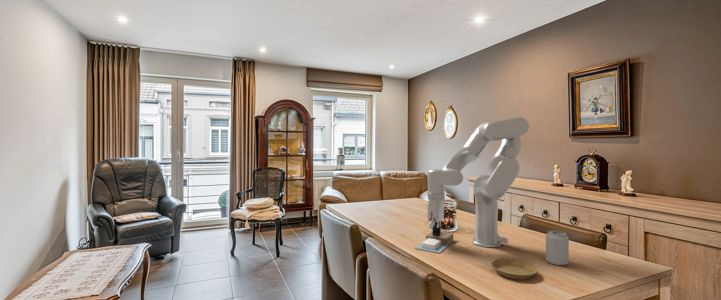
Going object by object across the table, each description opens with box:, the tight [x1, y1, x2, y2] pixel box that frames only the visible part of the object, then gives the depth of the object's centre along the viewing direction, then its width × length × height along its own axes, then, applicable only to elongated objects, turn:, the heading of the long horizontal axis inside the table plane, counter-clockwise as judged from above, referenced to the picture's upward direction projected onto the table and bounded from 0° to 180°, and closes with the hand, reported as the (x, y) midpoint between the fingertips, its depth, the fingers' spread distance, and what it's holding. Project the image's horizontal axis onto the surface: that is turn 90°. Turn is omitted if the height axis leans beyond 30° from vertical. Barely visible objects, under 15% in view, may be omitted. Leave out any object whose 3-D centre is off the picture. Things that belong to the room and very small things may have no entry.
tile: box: [420, 238, 441, 250], centre depth 142 cm, size 6×9×2 cm, turn 147°
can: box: [545, 229, 570, 266], centre depth 122 cm, size 8×8×12 cm
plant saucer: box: [490, 258, 538, 280], centre depth 113 cm, size 15×15×3 cm
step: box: [425, 231, 454, 245], centre depth 150 cm, size 10×10×3 cm
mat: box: [414, 243, 449, 254], centre depth 141 cm, size 11×11×1 cm
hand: (436, 235), depth 146 cm, fingers closed
